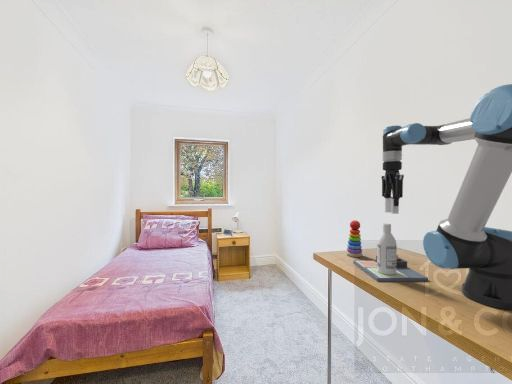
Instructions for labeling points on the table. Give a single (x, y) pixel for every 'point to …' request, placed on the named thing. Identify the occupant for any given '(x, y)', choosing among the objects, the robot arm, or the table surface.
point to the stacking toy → (354, 240)
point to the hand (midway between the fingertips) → (391, 212)
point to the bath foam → (386, 251)
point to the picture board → (401, 275)
